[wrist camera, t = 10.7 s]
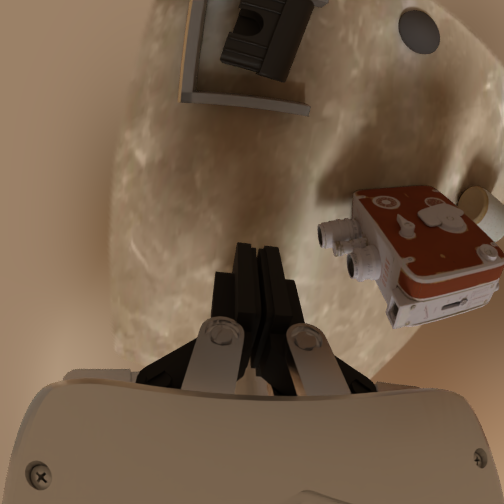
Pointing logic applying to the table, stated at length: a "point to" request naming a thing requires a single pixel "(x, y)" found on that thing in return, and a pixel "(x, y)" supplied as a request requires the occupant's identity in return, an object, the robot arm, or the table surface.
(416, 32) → the lens cap
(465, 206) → the ceramic mug
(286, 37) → the end cap
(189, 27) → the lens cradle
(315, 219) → the table surface
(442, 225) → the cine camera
